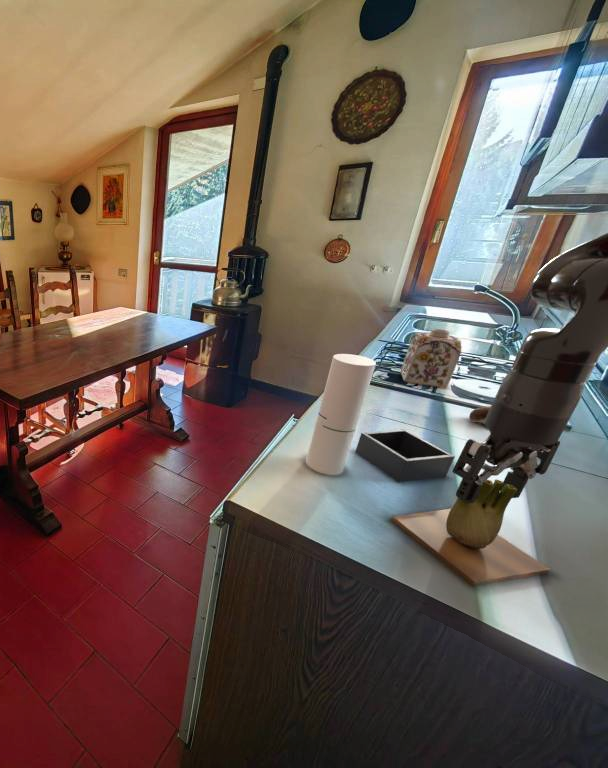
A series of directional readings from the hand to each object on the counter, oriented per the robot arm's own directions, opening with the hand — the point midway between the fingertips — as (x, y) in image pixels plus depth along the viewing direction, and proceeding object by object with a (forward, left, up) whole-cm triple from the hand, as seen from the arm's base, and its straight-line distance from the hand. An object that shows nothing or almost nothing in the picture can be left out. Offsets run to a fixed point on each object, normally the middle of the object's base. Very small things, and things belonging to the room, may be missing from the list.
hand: (486, 497), depth 61 cm
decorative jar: (-65, -66, -10) cm, 93 cm away
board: (0, 0, -10) cm, 10 cm away
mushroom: (-51, -35, -10) cm, 63 cm away
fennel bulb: (0, 0, -9) cm, 9 cm away
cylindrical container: (+7, -24, -10) cm, 27 cm away
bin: (-10, -22, -10) cm, 26 cm away
